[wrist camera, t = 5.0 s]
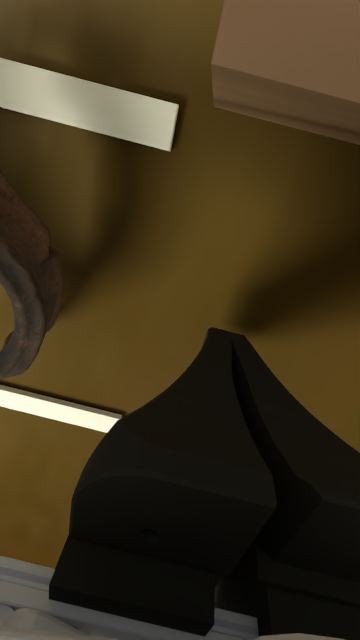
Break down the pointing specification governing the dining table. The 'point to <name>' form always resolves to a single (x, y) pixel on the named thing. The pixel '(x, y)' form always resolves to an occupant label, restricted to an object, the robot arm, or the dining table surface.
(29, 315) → the brown curved piece
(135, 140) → the bay outline
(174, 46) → the dining table surface
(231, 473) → the robot arm
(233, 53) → the walnut screen
